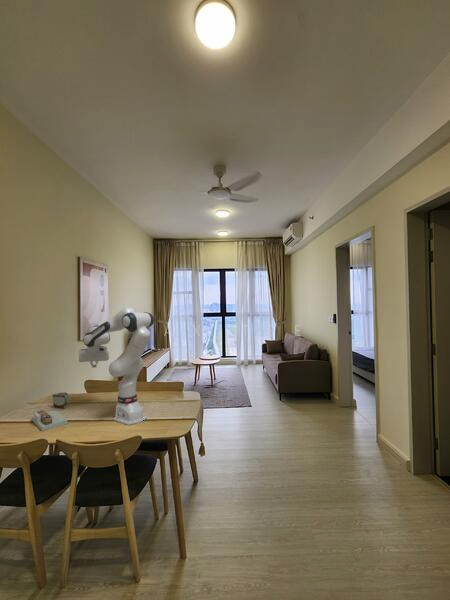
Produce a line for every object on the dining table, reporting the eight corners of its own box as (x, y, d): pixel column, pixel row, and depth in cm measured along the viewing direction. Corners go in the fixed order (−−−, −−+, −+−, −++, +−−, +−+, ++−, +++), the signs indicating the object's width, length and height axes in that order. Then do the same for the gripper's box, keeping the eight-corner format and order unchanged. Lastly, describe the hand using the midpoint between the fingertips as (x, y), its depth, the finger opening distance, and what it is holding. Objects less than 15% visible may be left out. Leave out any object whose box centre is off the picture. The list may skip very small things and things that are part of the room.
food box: (67, 423, 181) (67, 414, 181) (42, 431, 170) (42, 421, 170) (55, 414, 197) (55, 405, 197) (31, 420, 187) (31, 411, 187)
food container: (72, 406, 211) (72, 392, 212) (65, 409, 206) (65, 395, 206) (58, 405, 215) (58, 391, 215) (52, 408, 209) (51, 394, 209)
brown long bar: (52, 422, 176) (52, 415, 176) (45, 424, 173) (45, 417, 173) (43, 415, 188) (43, 408, 188) (37, 417, 185) (37, 410, 185)
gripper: (77, 349, 205) (77, 369, 204) (107, 348, 209) (107, 367, 208) (80, 348, 211) (80, 367, 211) (109, 347, 215) (109, 365, 215)
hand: (94, 367), depth 210 cm, fingers closed
